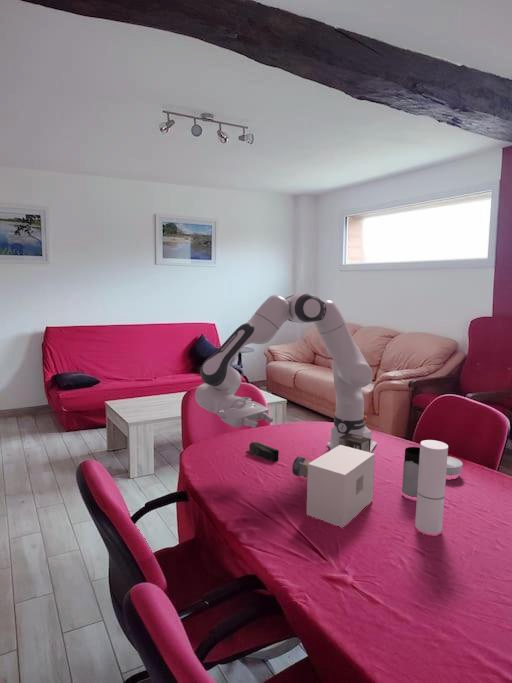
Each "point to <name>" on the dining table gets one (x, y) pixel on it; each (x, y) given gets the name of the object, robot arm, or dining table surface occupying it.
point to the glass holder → (411, 471)
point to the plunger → (300, 467)
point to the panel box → (340, 484)
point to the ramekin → (453, 466)
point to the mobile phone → (263, 451)
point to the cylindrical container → (431, 486)
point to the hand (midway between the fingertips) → (264, 423)
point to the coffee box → (355, 442)
